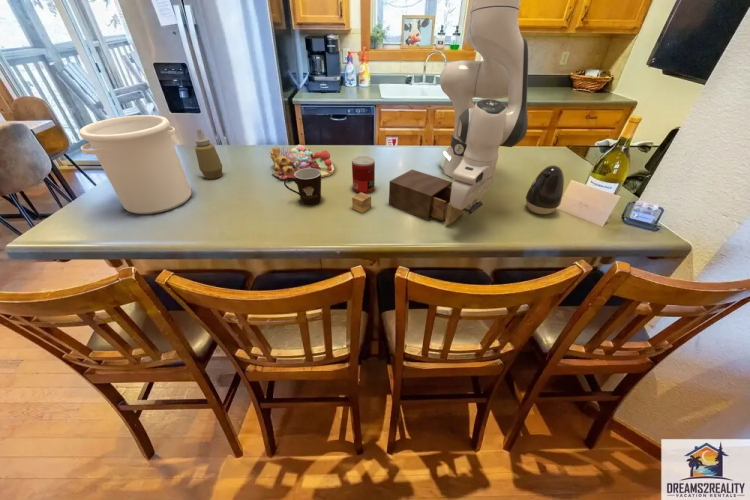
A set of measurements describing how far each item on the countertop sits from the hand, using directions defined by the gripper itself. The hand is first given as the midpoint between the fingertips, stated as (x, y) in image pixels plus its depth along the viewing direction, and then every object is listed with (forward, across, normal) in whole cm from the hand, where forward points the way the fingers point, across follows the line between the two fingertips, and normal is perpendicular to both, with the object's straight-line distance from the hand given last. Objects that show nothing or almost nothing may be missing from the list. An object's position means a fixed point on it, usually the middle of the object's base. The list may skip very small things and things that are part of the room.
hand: (469, 210), depth 95 cm
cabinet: (+5, 0, -18) cm, 18 cm away
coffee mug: (+5, +22, -49) cm, 54 cm away
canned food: (+5, +3, -40) cm, 40 cm away
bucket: (+5, +55, -86) cm, 103 cm away
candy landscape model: (+5, +6, -71) cm, 71 cm away
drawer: (+4, 0, -8) cm, 9 cm away
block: (+5, +14, -31) cm, 34 cm away
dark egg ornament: (+5, -23, +14) cm, 28 cm away
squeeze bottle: (+5, +34, -92) cm, 98 cm away
